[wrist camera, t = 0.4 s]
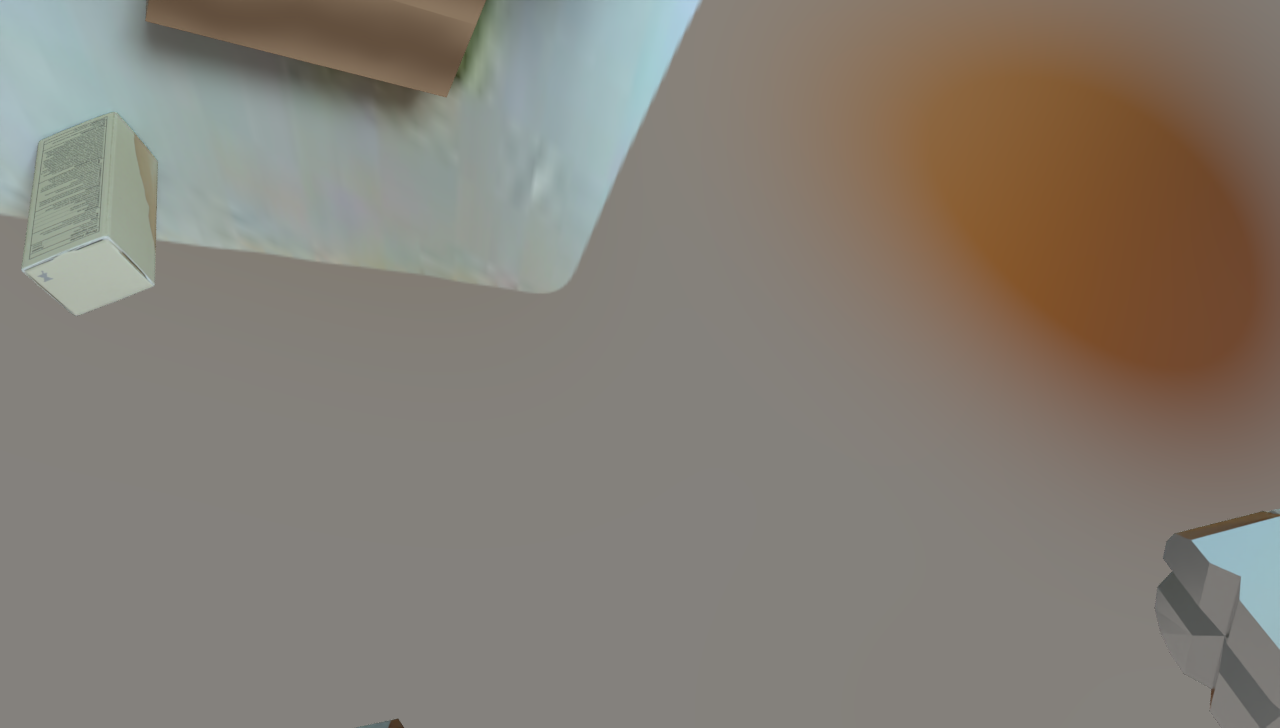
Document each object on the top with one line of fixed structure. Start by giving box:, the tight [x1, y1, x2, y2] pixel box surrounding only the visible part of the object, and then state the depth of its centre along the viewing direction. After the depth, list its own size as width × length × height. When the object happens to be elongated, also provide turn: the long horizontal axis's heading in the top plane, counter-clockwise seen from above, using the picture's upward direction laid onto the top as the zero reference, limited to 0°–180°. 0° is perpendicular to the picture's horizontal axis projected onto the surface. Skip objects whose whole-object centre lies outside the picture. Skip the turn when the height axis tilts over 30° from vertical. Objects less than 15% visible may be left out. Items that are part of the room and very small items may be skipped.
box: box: [21, 112, 158, 316], centre depth 57 cm, size 5×4×11 cm
